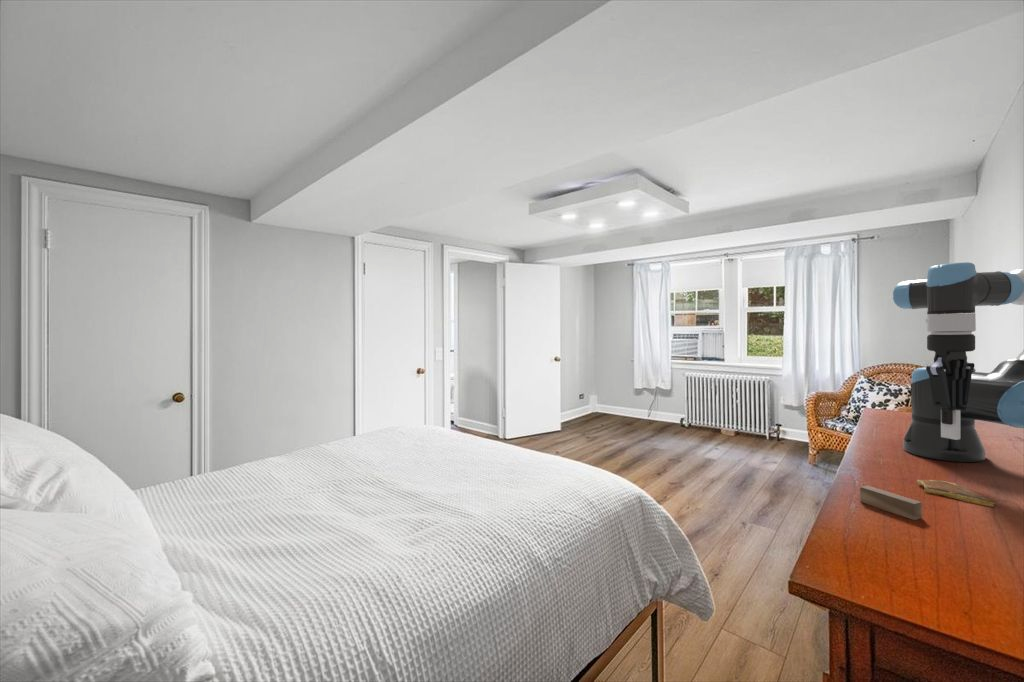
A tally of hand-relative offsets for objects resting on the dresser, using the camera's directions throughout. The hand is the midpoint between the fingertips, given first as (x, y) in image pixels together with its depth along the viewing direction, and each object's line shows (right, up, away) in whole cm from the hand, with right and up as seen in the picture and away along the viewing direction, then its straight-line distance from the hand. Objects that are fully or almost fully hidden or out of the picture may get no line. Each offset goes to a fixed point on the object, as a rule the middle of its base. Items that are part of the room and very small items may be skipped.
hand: (950, 437), depth 96 cm
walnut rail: (-26, -11, -14) cm, 31 cm away
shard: (-7, -10, -8) cm, 15 cm away
